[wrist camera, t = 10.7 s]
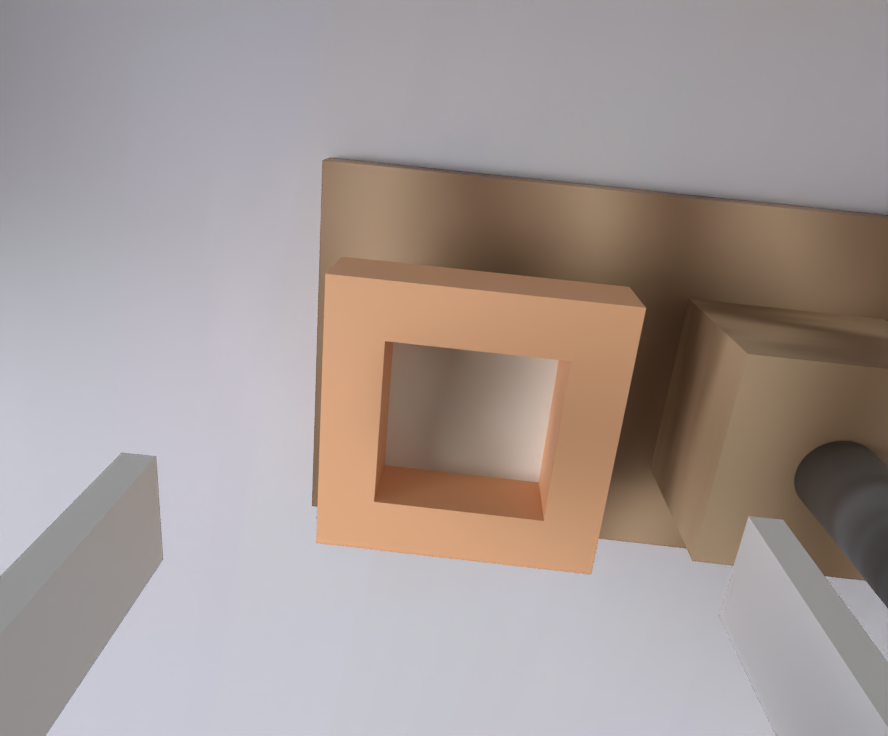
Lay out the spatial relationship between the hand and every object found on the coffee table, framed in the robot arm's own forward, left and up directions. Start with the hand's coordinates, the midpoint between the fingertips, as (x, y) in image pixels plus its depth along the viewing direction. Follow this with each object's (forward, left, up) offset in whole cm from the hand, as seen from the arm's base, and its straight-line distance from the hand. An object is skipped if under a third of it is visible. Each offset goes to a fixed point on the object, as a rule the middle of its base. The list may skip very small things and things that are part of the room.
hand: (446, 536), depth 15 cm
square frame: (0, 0, -8) cm, 8 cm away
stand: (+6, 0, -13) cm, 14 cm away
